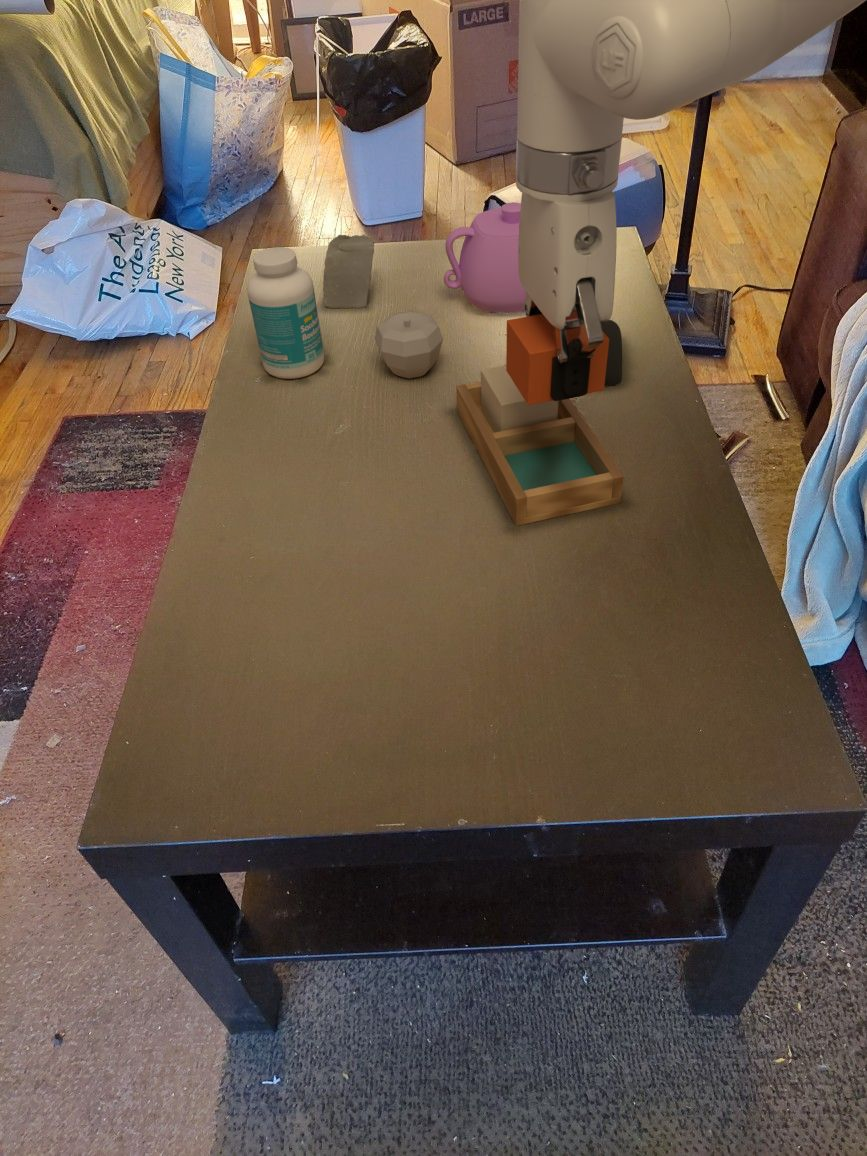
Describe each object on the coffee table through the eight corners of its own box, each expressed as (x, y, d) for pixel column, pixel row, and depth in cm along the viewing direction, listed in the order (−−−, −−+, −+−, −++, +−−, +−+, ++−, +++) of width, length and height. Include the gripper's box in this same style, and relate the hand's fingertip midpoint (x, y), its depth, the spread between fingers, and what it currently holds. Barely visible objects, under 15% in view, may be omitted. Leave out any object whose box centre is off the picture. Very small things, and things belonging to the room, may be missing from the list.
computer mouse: (617, 335, 102) (620, 304, 99) (622, 386, 94) (626, 354, 91) (564, 335, 103) (566, 304, 100) (565, 385, 95) (567, 354, 92)
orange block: (578, 356, 77) (582, 306, 74) (604, 390, 73) (609, 339, 70) (505, 370, 76) (506, 319, 73) (527, 405, 72) (529, 354, 69)
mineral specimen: (391, 300, 110) (372, 243, 104) (329, 319, 111) (306, 263, 105) (389, 273, 115) (370, 217, 109) (329, 291, 116) (308, 237, 110)
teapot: (451, 328, 105) (448, 235, 97) (438, 281, 115) (434, 192, 106) (608, 311, 106) (617, 217, 98) (582, 265, 116) (589, 176, 107)
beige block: (533, 399, 92) (535, 359, 88) (556, 435, 87) (559, 393, 83) (481, 410, 91) (480, 369, 87) (501, 446, 86) (501, 405, 82)
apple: (364, 369, 100) (357, 318, 95) (416, 346, 103) (412, 295, 98) (405, 397, 95) (400, 344, 90) (458, 371, 98) (456, 319, 94)
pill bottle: (321, 380, 98) (303, 269, 89) (259, 383, 99) (234, 272, 89) (328, 348, 104) (311, 239, 94) (269, 350, 104) (246, 242, 94)
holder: (547, 393, 94) (548, 367, 91) (620, 503, 80) (624, 476, 78) (457, 411, 92) (455, 385, 90) (515, 526, 78) (516, 499, 76)
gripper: (667, 197, 56) (635, 422, 69) (572, 120, 68) (559, 323, 81) (561, 214, 55) (548, 439, 68) (483, 132, 67) (485, 337, 80)
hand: (554, 374), depth 74 cm, fingers closed on orange block, 6 cm apart
